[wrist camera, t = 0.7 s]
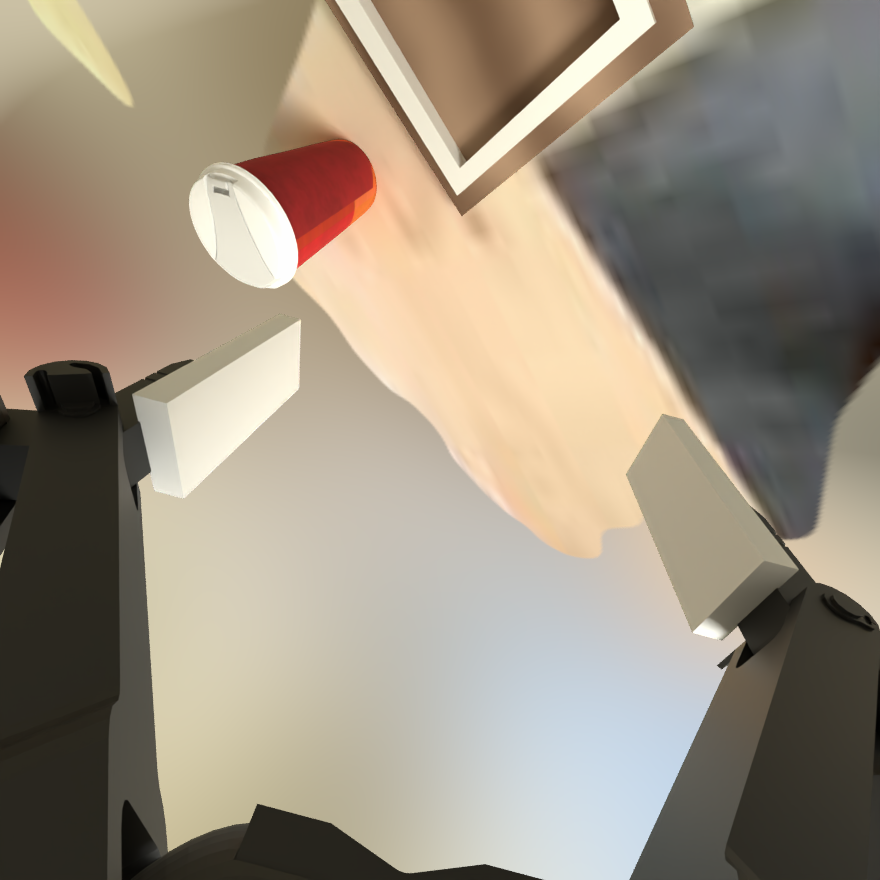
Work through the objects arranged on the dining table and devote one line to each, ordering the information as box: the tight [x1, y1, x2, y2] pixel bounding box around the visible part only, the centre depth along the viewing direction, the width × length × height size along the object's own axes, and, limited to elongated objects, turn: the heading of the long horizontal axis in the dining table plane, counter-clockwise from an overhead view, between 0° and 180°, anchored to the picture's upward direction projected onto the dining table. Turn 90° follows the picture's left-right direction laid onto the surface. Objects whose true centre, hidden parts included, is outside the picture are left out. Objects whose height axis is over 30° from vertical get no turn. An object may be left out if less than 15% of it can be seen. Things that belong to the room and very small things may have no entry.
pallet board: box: [325, 0, 694, 216], centre depth 23 cm, size 16×16×4 cm
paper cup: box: [189, 140, 377, 288], centre depth 31 cm, size 8×8×14 cm
